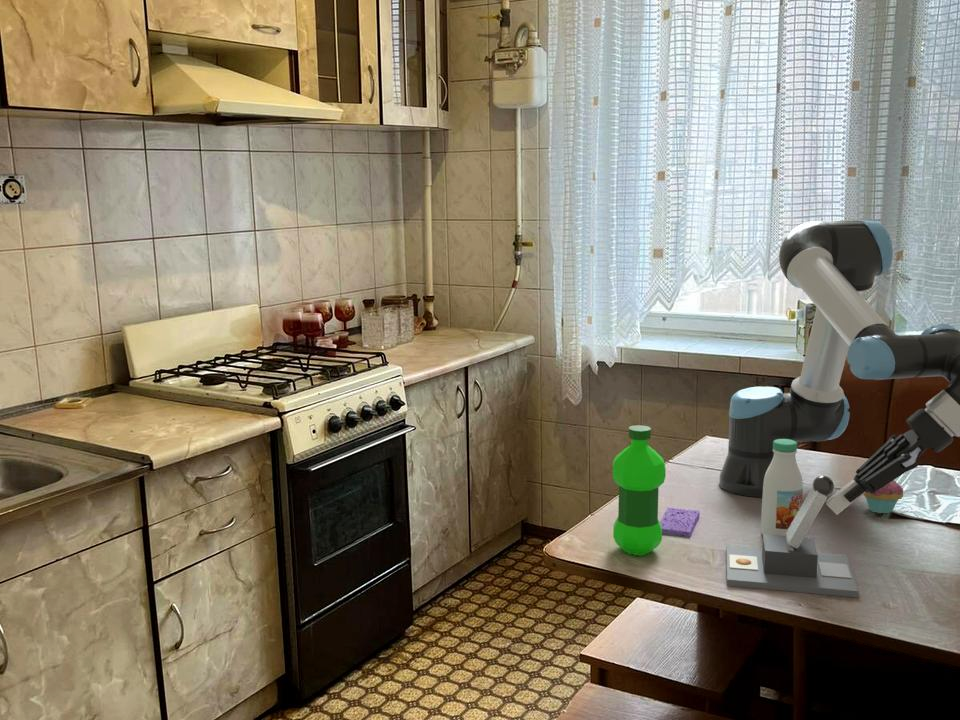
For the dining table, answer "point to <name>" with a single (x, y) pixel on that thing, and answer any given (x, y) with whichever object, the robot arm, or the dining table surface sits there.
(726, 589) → the dining table surface
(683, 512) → the sponges
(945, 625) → the dining table surface
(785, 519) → the milk bottle
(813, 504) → the toggle lever
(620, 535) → the plastic bottle
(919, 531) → the dining table surface
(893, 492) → the cupcake
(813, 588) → the switch board
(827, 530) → the dining table surface
